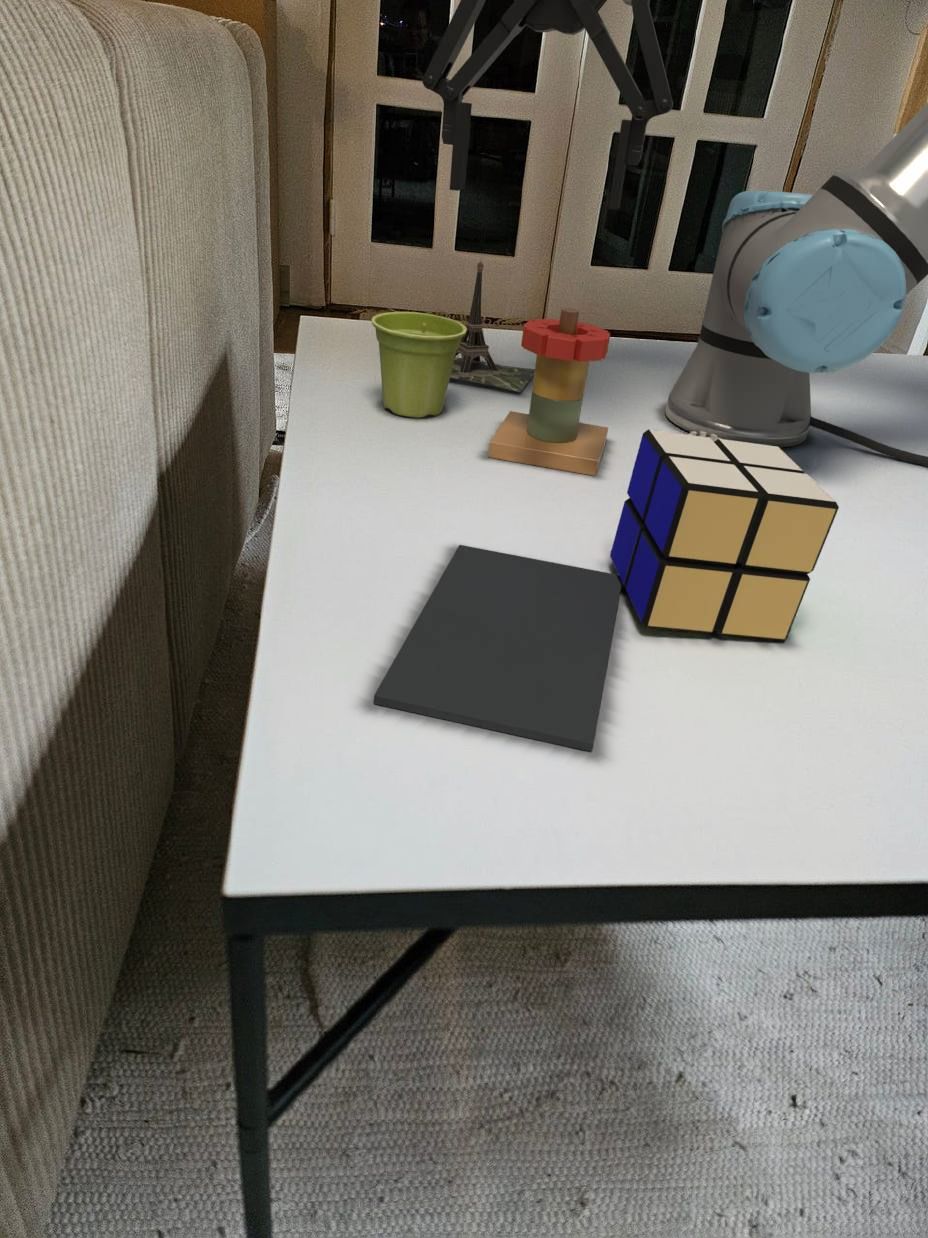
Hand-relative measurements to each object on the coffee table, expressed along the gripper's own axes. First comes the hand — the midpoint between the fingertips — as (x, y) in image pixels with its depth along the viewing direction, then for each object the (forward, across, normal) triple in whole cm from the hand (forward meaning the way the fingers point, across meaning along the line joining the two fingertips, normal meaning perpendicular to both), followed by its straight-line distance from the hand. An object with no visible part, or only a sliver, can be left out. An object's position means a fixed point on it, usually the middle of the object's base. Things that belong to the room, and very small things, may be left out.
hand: (534, 198), depth 78 cm
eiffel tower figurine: (+22, +9, -20) cm, 31 cm away
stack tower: (+22, -4, +1) cm, 22 cm away
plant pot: (+22, +11, -4) cm, 24 cm away
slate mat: (+21, -7, +36) cm, 42 cm away
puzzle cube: (+21, -18, +27) cm, 39 cm away
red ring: (+12, -4, +1) cm, 13 cm away
